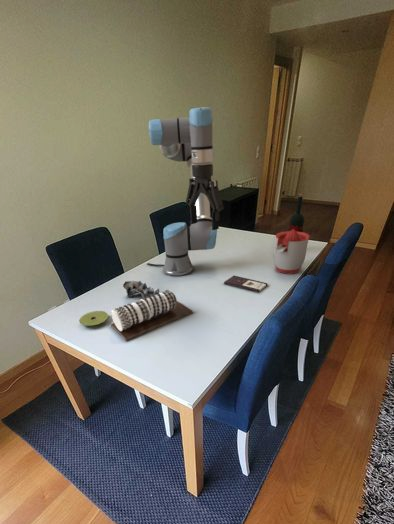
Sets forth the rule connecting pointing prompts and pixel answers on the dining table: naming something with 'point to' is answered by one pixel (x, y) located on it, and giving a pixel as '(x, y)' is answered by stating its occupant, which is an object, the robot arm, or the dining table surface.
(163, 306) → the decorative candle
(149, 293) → the foil
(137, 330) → the walnut board
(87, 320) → the mat
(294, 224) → the wine bottle
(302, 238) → the citrus juicer
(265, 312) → the dining table surface
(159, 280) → the dining table surface
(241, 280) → the chocolate bar
